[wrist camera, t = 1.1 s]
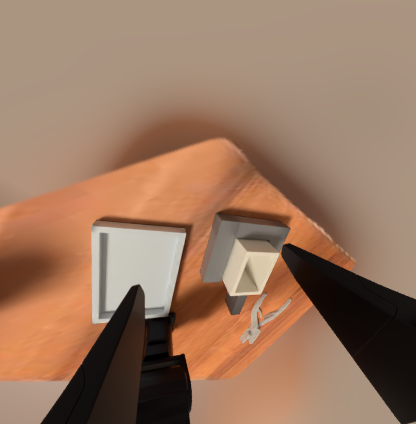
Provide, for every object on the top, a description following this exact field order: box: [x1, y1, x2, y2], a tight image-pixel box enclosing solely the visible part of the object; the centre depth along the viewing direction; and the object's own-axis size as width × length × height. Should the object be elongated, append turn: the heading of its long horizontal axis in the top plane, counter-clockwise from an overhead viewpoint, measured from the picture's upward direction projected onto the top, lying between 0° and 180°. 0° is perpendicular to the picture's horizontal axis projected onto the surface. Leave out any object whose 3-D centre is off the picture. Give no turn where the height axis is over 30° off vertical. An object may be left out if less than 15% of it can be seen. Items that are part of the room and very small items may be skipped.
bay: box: [200, 213, 291, 283], centre depth 27 cm, size 11×12×2 cm
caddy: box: [222, 238, 280, 315], centre depth 26 cm, size 13×6×6 cm, turn 166°
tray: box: [92, 220, 186, 324], centre depth 24 cm, size 17×11×2 cm
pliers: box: [240, 293, 292, 344], centre depth 38 cm, size 10×2×15 cm
